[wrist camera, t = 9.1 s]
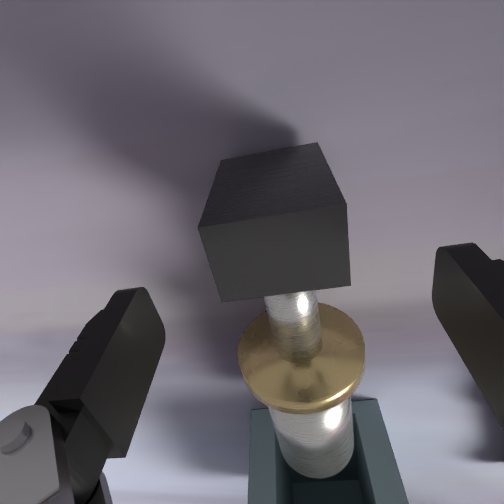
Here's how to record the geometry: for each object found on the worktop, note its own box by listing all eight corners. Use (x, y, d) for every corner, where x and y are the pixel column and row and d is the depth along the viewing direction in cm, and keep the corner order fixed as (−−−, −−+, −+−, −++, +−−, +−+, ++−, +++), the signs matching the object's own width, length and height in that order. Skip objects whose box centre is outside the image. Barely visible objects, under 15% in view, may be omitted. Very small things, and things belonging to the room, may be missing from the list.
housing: (376, 399, 26) (417, 533, 19) (376, 472, 33) (407, 594, 26) (251, 410, 28) (246, 539, 21) (274, 478, 34) (277, 595, 27)
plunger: (340, 137, 15) (384, 199, 9) (354, 388, 24) (380, 491, 19) (200, 164, 16) (165, 234, 10) (266, 396, 25) (267, 496, 20)
